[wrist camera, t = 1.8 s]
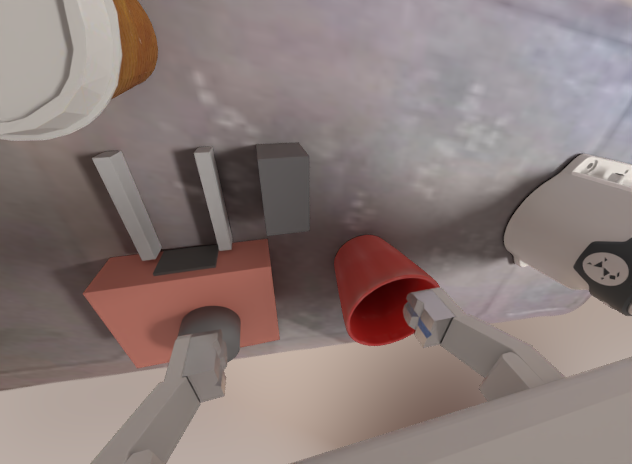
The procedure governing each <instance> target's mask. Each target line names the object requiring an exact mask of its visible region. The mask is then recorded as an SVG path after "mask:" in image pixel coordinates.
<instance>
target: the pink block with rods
mask: <svg viewBox="0 0 632 464" xmlns="http://www.w3.org/2000/svg"><path fill="white" fill-rule="evenodd" d="M194 156H195V160H196V164H197V167H198V171H199V175H200V179H201V183H202V186H203V190H204V194H205V198H206V202H207V206H208V209H209V213H210V217H211V221H212V225H213V228H214V232H215V236H216V240H217V245H209V246H200V247H192V248H184V249H175V250H167V251H161V252H160V250H161V248H162V247H161V244H160V242H159V240H158V237H157V235H156V233H155V230H154V228H153V225H152V223H151V221H150V218H149V216H148V213H147V211H146V209H145V206H144V204H143V202H142V199H141V197H140V194H139V192H138V190H137V187H136V185H135V182H134V180H133V178H132V175H131V173H130V171H129V168H128V166H127V163H126V161H125V159H124V156H123V154H122V151H105V152H103V153H101V154H99V155H97V156H95V157H93V158H92V160H93V162H94V164H95V166H96V168H97V170H98V172H99V174H100V176H101V178H102V180H103V182H104V184H105V186H106V188H107V190H108V192H109V194H110V196H111V198H112V200H113V202H114V204H115V206H116V208H117V210H118V213H119V215H120V217H121V219H122V221H123V223H124V225H125V227H126V229H127V231H128V233H129V235H130V237H131V239H132V241H133V243H134V245H135V247H136V249H137V251H138V253H139V254H136V255H128V256H120V257H112V258H109V260H108V261H107V262H106V264H105V265H104V266H103V267H102V269H101V270H100V271H99V273H98V274H97V275H96V277H95V278H94V279H93V280H92V282H91V283H90V284H89V286H88V287H87V288H86V290H85V291H84V292H83V295H84V296H85V297H86V299H87V300H88V301H89V303H90V304H91V306H92V307H93V308H94V310H95V311H96V312H97V314H98V315H99V317H100V318H101V319H102V321H103V322H104V323H105V325H106V326H107V327H108V329H109V330H110V332H111V333H112V334H113V336H114V337H115V338H116V340H117V341H118V342H119V344H120V345H121V347H122V348H123V349H124V351H125V352H126V353H127V355H128V356H129V358H130V359H131V360H132V362H133V363H134V364H135V366H136V367H137V368H142V367H147V366H152V365H157V364H162V363H166V362H169V361H170V358H171V354H172V350H173V347H174V343H175V340H176V339H177V337H178V336H183V335H189V334H194V333H201V332H207V331H213V330H219V329H221V331H222V334H223V337H222V340H223V341H225V343H226V347H227V362H229V361H231V360H232V359H233V358H235V357H236V355H237V354H238V352H239V349H240V347H245V346H250V345H255V344H260V343H265V342H270V341H275V340H280V337H279V329H278V320H277V311H276V303H275V295H274V287H273V279H272V271H271V263H270V255H269V246H268V239H260V240H252V241H244V242H236V243H232V240H233V239H232V234H231V230H230V225H229V220H228V216H227V211H226V207H225V202H224V197H223V193H222V188H221V184H220V179H219V175H218V170H217V165H216V161H215V156H214V152H213V147H198V148H197V149H196V151H195V152H194Z"/></svg>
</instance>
